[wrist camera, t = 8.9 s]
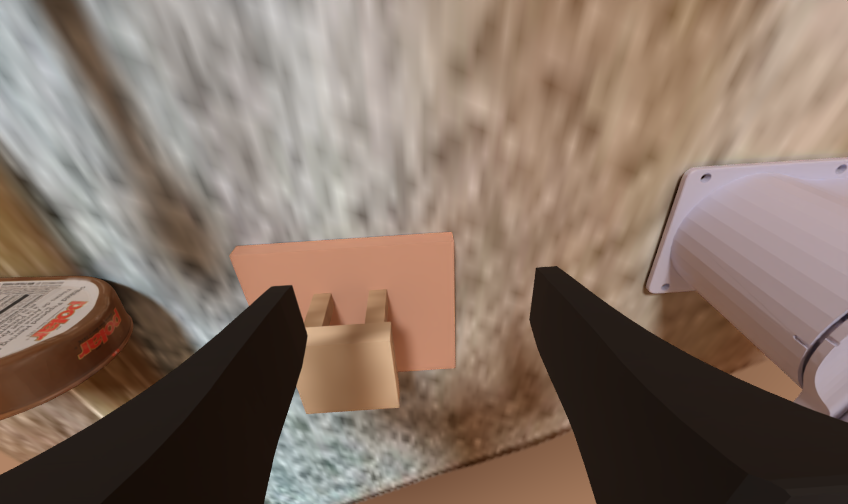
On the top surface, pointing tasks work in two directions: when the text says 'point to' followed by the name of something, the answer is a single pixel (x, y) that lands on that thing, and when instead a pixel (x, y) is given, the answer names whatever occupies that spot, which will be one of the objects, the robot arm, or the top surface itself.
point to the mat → (368, 286)
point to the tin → (55, 336)
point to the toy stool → (348, 359)
